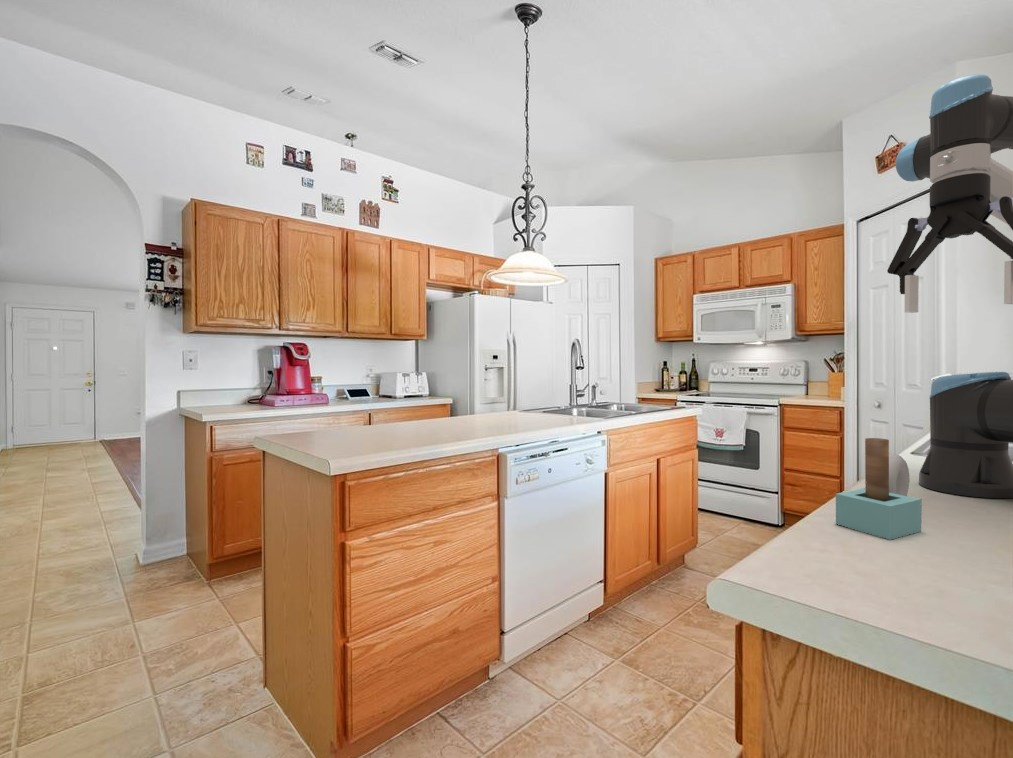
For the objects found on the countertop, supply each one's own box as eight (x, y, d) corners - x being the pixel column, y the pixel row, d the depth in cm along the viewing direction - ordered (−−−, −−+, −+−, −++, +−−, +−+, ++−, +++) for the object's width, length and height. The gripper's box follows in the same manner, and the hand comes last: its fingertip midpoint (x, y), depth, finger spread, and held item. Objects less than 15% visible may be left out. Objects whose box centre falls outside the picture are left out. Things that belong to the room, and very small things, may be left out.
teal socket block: (866, 517, 86) (866, 487, 86) (921, 531, 79) (921, 499, 79) (835, 524, 83) (835, 493, 83) (889, 539, 75) (890, 506, 75)
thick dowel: (872, 523, 83) (872, 437, 82) (893, 529, 80) (893, 439, 80) (861, 526, 81) (860, 439, 81) (881, 532, 79) (881, 441, 78)
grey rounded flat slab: (892, 518, 85) (892, 458, 85) (868, 513, 88) (868, 455, 88) (912, 507, 91) (912, 451, 91) (889, 502, 94) (889, 448, 94)
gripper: (865, 199, 94) (865, 314, 95) (1053, 146, 71) (1051, 298, 72) (890, 203, 97) (889, 315, 98) (1077, 154, 74) (1075, 300, 75)
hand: (957, 308), depth 85 cm, fingers open, 13 cm apart
